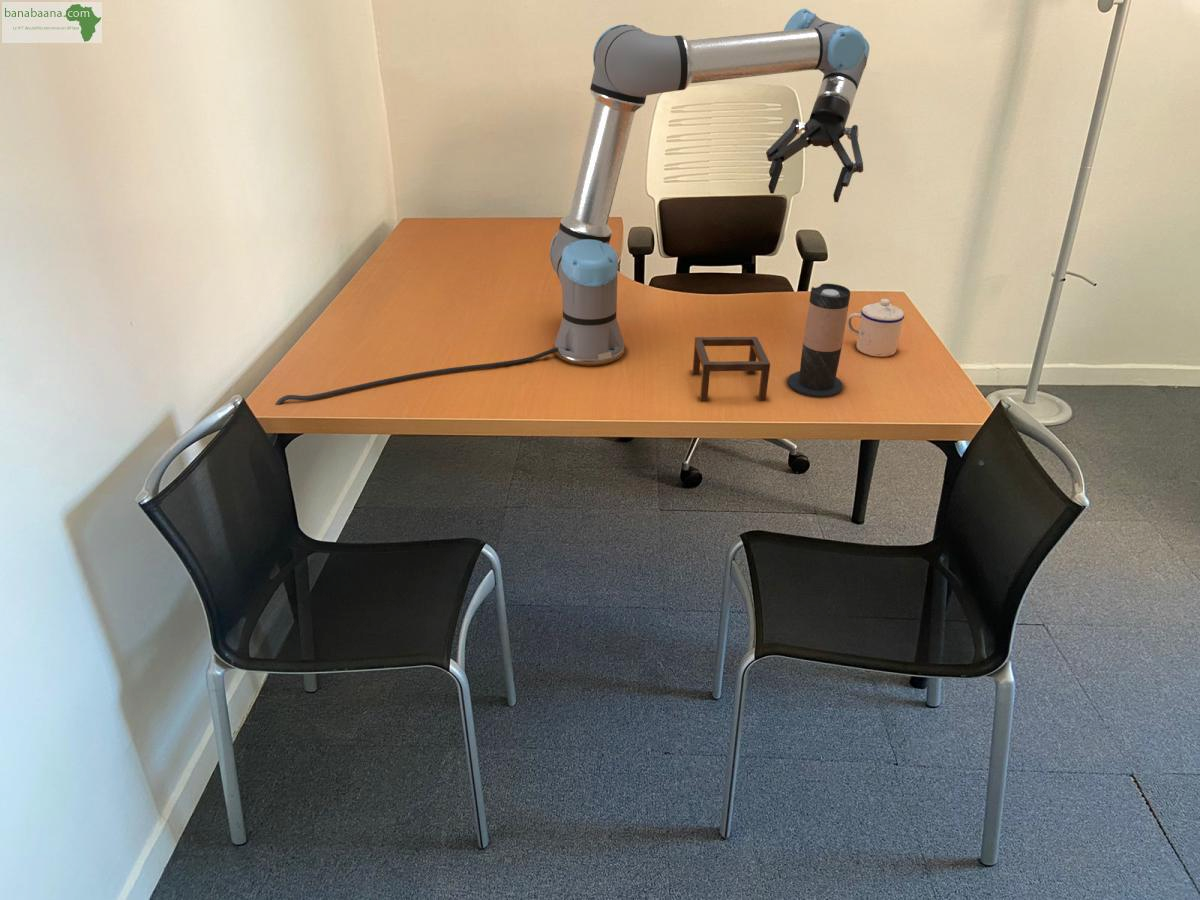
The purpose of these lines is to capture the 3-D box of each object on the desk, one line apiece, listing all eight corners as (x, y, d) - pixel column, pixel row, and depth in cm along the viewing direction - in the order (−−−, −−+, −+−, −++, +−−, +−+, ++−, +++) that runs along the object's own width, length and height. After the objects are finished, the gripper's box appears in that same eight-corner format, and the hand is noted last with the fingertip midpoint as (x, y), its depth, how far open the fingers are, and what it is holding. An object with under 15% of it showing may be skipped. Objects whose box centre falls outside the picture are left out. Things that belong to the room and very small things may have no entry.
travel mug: (835, 392, 174) (851, 299, 164) (797, 388, 176) (810, 295, 165) (835, 376, 181) (850, 284, 170) (797, 372, 182) (810, 281, 172)
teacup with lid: (902, 347, 195) (912, 298, 189) (889, 361, 189) (899, 311, 183) (850, 334, 201) (859, 286, 195) (836, 348, 194) (844, 299, 188)
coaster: (794, 397, 174) (794, 395, 173) (782, 373, 183) (782, 370, 183) (848, 397, 174) (849, 394, 174) (833, 372, 184) (834, 370, 183)
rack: (700, 400, 172) (703, 364, 168) (692, 371, 183) (694, 337, 179) (765, 400, 173) (770, 363, 168) (753, 371, 184) (757, 336, 180)
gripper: (773, 88, 183) (742, 176, 180) (893, 99, 173) (862, 192, 170) (777, 111, 190) (748, 196, 186) (893, 122, 180) (864, 212, 177)
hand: (802, 194), depth 178 cm, fingers open, 13 cm apart
